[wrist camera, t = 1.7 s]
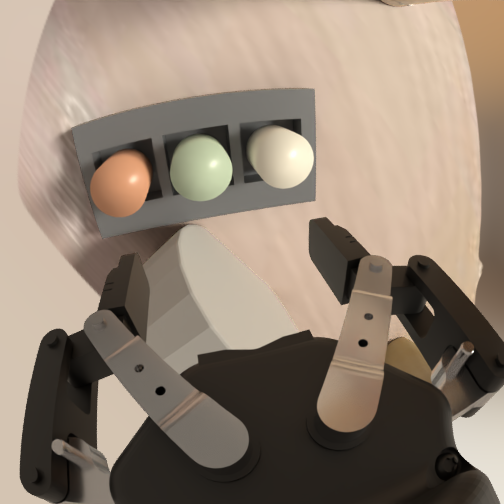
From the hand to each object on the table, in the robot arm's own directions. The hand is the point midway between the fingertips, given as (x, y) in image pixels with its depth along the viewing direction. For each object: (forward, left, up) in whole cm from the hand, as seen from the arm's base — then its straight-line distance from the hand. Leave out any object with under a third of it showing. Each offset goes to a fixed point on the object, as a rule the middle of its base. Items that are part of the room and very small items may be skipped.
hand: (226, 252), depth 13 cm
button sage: (-1, 0, -16) cm, 16 cm away
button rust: (-1, -8, -16) cm, 17 cm away
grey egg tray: (-1, 0, -18) cm, 18 cm away
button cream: (-1, +7, -16) cm, 17 cm away
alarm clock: (+15, 0, -18) cm, 24 cm away
